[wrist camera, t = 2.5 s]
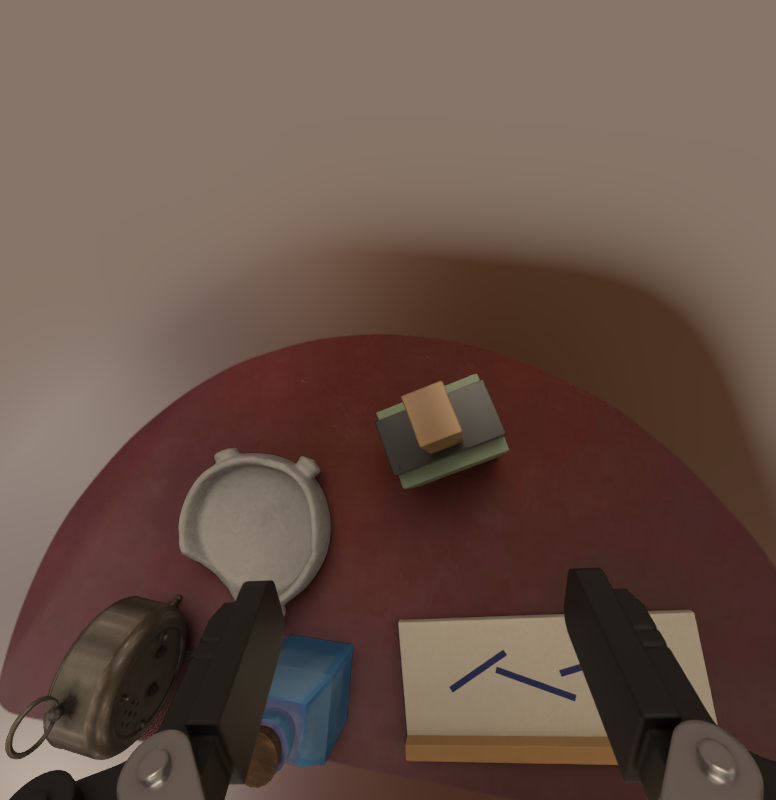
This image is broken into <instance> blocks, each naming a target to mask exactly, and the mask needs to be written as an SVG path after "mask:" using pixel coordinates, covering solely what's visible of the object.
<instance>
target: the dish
mask: <svg viewBox="0 0 776 800" xmlns="http://www.w3.org/2000/svg"><path fill="white" fill-rule="evenodd" d="M214 458H215V460H216V464H215V465H213V466H212V467H210V468H209V469H207V470H206V471H205V472H204V473H202V474H201V475H200V477H199V478H198V479H197V480H196V481H195V483H194V484H193V486H192V487H191V489H190V491H189V492H188V494H187V497H186V499H185V502H184V504H183V507H182V510H181V514H180V518H179V526H178V527H179V546H180V550H181V553H182V554H184V555H185V556H186V557H188V558H190V559H192V560H195V561H197V562H200V563H201V564H202V565H204V566H205V567H207V568H208V569H210V570H211V571H212V572H213V573H214V574H215V575H217V576H218V578H219V579H220V580H221V581H222V582H223V583H224V584H225V585H226V587H227V588H228V589H229V591H230V592H231V594H232V596H233V598H234V600H235V601H236V598H237V596H238V593H239V591H240V589H241V586H242V585H243V583H244V582H246V581H264V580H272V581H274V583H275V586H276V590H277V593H278V597H279V601H280V604H281V608H282V611H283V615H284V616H285V615H286V608H285V605H286V603H287V602H289V601H290V600H291V599H293V598H294V597H295V596H297V595H298V594H299V593H300V592H301V591H303V590H304V589H305V588H306V587H307V586H308V585H309V583H310V582H311V581H312V580H313V578H314V577H315V576H316V574H317V573H318V571H319V569H320V568H321V566H322V564H323V562H324V559H325V557H326V555H327V551H328V547H329V542H330V535H331V520H330V513H329V508H328V504H327V501H326V498H325V495H324V492H323V490H322V488H321V486H320V485H319V483H318V482H317V480H316V479H315V477H316V476H317V475H318V474H319V473H320V468H319V467H318V465H317V464H316V462H315V460H313V459H309V458H306V457H304V456H302V457H300V459H299V461H298V462H297V464H296V463H294V462H292V461H290V460H288V459H285V458H282V457H279V456H275V455H270V454H262V453H248V454H240V452H239V450H238V449H237V448H230V449H226V450H222V451H220V452H218V453H217V454H216V455H215V456H214Z"/></svg>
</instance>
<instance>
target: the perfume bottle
mask: <svg viewBox="0 0 776 800" xmlns="http://www.w3.org/2000/svg"><path fill="white" fill-rule="evenodd" d="M352 654H353V644H347V643H341V642H335V641H328V640H322V639H316V638H310V637H304V636H297V635H291V634H289V635H288V636H287V637H286V638H285V639H284V640H283V644H282V647H281V651H280V655H279V659H278V662H277V666H276V670H275V673H274V677H273V681H272V685H271V688H270V692H269V696H268V699H267V703H266V707H265V710H264V714H263V718H262V722H261V725H260V729H259V733H258V736H257V740H256V744H255V748H254V751H253V755H252V759H251V762H250V766H249V770H248V774H247V777H246V781H245V785H247V786H249V787H256V788H259V787H261V786H264V785H266V784H267V783H268V782H269V781H271V779H272V778H273V776H274V775H275V774H276V773H277V772H278V771H279V770H280V769H281V768H282V766H283V765H284V764H288V765H293V766H297V767H305V766H317V765H318V766H319V765H325V763H326V761H327V759H328V757H329V755H330V753H331V751H332V749H333V747H334V745H335V743H336V741H337V739H338V737H339V735H340V732H341V730H342V728H343V726H344V724H345V722H346V720H347V712H348V700H349V689H350V677H351V666H352Z"/></svg>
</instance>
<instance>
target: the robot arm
mask: <svg viewBox="0 0 776 800" xmlns="http://www.w3.org/2000/svg"><path fill="white" fill-rule="evenodd" d="M564 618H565V624H566V628H567V632H568V635H569V637H570V640H571V642H572V645H573V648H574V650H575V653H576V656H577V658H578V661H579V663H580V666H581V669H582V671H583V674H584V676H585V679H586V682H587V684H588V687H589V689H590V692H591V695H592V697H593V700H594V703H595V705H596V708H597V710H598V713H599V716H600V718H601V721H602V723H603V726H604V729H605V731H606V734H607V737H608V739H609V742H610V744H611V747H612V750H613V752H614V755H615V757H616V760H617V763H618V765H619V768H620V771H621V773H622V776H623V778H624V781H625V783H640V782H642V784H643V786H644V789H645V791H646V794H647V796H648V798H649V800H776V762H775V761H771V760H768V759H766V758H763V757H760V756H758V755H756V754H754V753H752V752H750V751H748V750H747V749H746V748H745V747H744V746H743V745H742V744H741V743H740V742H739V741H738V740H737V739H736V738H735V737H733V736H732V735H731V734H729V733H728V732H726V731H725V730H723V729H721V728H720V727H719V726H718V725H717V724H716V723H715V722H714V720H713V719H712V718H711V716H710V715H709V713H708V711H707V710H706V708H705V706H704V705H703V703H702V701H701V700H700V698H699V696H698V695H697V693H696V691H695V690H694V688H693V686H692V685H691V683H690V681H689V680H688V678H687V676H686V675H685V673H684V671H683V670H682V668H681V666H680V665H679V663H678V661H677V660H676V658H675V656H674V655H673V653H672V651H671V649H670V648H668V647H667V643H666V641H665V639H664V638H663V636H662V634H661V633H660V631H659V630H657V626H656V624H655V623H654V621H653V619H652V618H651V616H650V614H649V613H648V611H647V609H646V608H645V606H644V605H643V604H642V603H641V602H640V601H639V600H638V599H636V598H635V597H634V596H633V595H632V594H631V593H630V592H629V591H628V590H627V589H613V588H612V586H611V584H610V583H609V581H608V579H607V577H606V575H605V573H604V572H603V571H602V569H600V568H579V569H570V570H569V572H568V578H567V586H566V595H565V603H564ZM284 632H285V621H284V615H283V611H282V608H281V604H280V601H279V597H278V593H277V590H276V586H275V583H274V581H272V580H264V581H246V582H244V583H243V585H242V586H241V589H240V591H239V593H238V596H237V598H236V601H235V603H224V604H223V605H222V606H221V607H220V609H219V610H218V611H217V612H216V613H215V614H214V615H213V617H212V618H211V619H210V620H209V622H208V624H207V626H206V628H205V631H204V633H203V635H202V637H201V639H200V640H201V641H200V644H198V646H197V648H196V650H195V652H194V655H193V660H191V661H190V663H189V666H188V668H187V670H186V672H185V674H184V676H183V679H182V681H181V683H180V685H179V687H178V690H177V692H176V694H175V696H174V698H173V700H172V703H171V705H170V707H169V709H168V711H167V713H166V716H165V718H164V720H163V722H162V724H161V726H160V728H159V729H158V731H157V732H156V734H155V735H153V736H151V737H149V738H148V739H147V740H145V741H144V742H143V743H142V744H141V745H139V746H138V747H137V748H136V749H135V751H134V752H133V753H132V754H131V755H130V757H129V758H128V760H127V761H125V762H123V763H121V764H119V765H117V766H114V767H112V768H109V769H106V770H104V771H101V772H99V773H96V774H93V775H91V776H88V777H85V778H83V779H81V780H78V781H75V780H74V779H73V778H72V776H71V775H70V774H69V773H67V772H66V771H62V770H55V771H50V772H47V773H44V774H42V775H40V776H38V777H36V778H34V779H33V780H31V781H29V782H28V783H27V784H25V785H24V786H23V787H22V788H21V789H20V790H18V791H17V792H16V793H15V794H14V795H13V796H12V797H11V798H10V799H9V800H224V799H225V796H226V792H227V789H228V786H229V784H245V781H246V777H247V774H248V770H249V766H250V762H251V759H252V755H253V751H254V748H255V744H256V740H257V736H258V733H259V729H260V725H261V722H262V718H263V714H264V710H265V707H266V703H267V699H268V696H269V692H270V688H271V685H272V681H273V677H274V673H275V670H276V666H277V662H278V659H279V655H280V651H281V647H282V644H283V639H284Z"/></svg>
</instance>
